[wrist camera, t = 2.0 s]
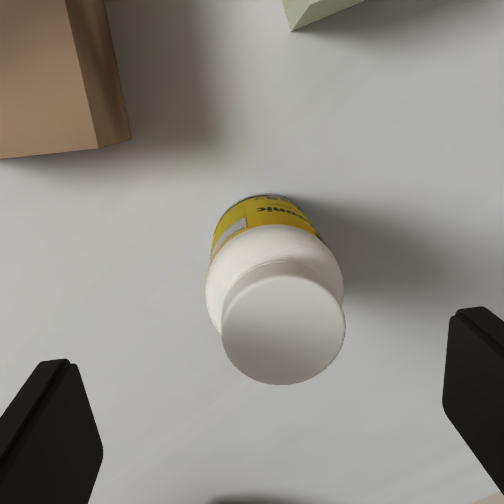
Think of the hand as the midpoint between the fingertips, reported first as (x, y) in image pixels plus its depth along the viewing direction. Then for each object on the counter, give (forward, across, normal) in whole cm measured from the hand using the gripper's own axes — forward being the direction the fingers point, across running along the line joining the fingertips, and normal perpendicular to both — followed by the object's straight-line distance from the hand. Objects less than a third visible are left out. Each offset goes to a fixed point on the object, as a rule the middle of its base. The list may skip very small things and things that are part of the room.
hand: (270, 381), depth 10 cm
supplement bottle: (+12, -1, +1) cm, 13 cm away
